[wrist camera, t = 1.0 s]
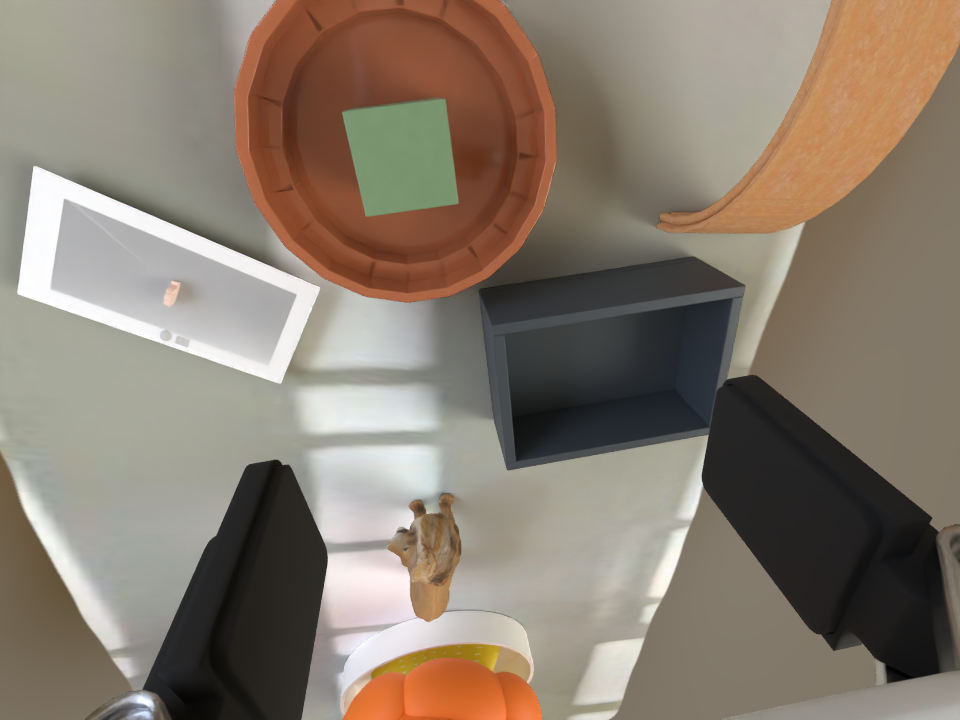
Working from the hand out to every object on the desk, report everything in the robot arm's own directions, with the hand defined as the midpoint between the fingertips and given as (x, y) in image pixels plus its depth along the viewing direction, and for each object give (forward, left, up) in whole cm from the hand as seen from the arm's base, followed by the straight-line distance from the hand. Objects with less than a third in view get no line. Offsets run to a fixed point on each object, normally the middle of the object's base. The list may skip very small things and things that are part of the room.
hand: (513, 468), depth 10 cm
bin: (+10, +9, -22) cm, 26 cm away
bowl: (-5, -2, -22) cm, 23 cm away
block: (-5, -2, -22) cm, 22 cm away
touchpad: (+1, -17, -22) cm, 28 cm away
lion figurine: (+26, -6, -22) cm, 35 cm away
